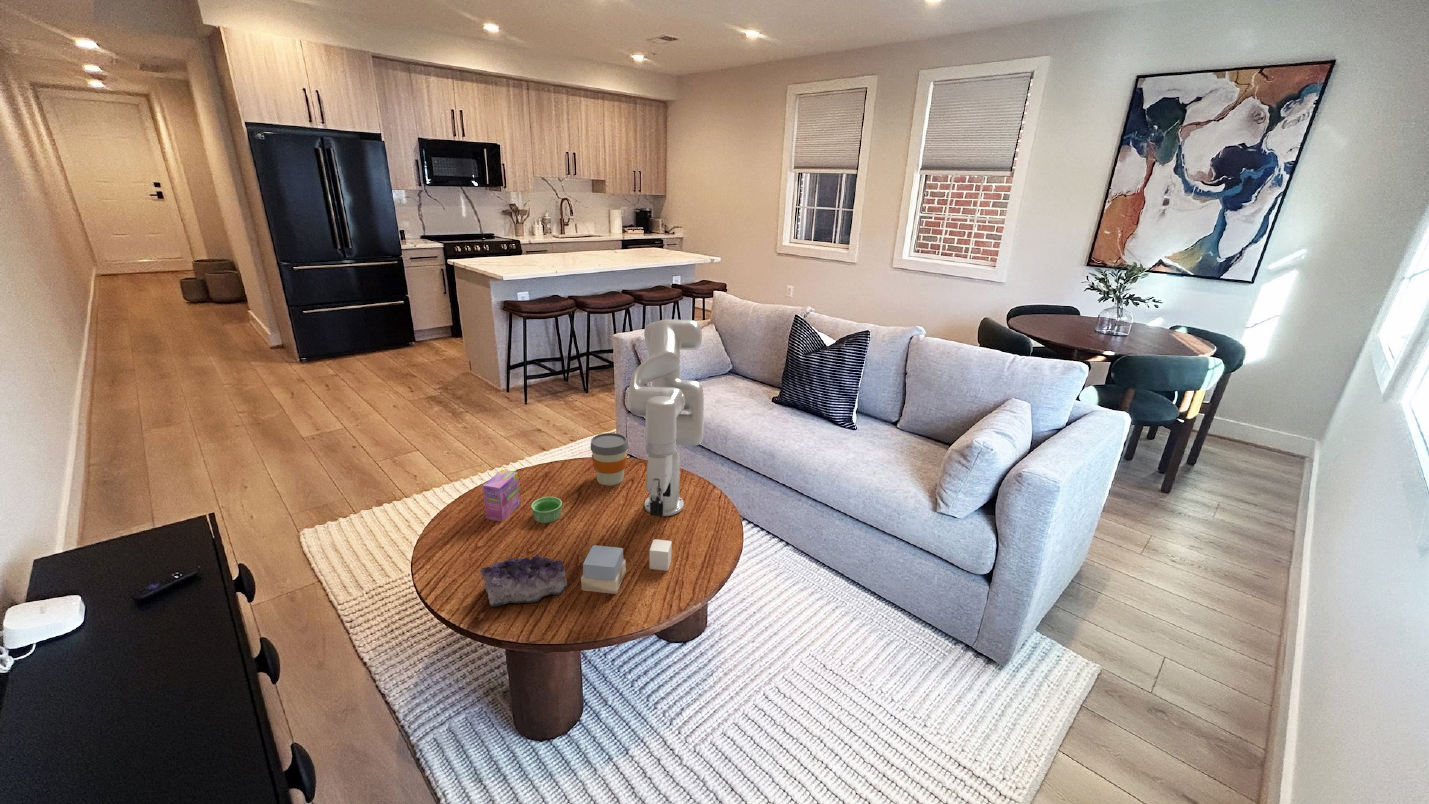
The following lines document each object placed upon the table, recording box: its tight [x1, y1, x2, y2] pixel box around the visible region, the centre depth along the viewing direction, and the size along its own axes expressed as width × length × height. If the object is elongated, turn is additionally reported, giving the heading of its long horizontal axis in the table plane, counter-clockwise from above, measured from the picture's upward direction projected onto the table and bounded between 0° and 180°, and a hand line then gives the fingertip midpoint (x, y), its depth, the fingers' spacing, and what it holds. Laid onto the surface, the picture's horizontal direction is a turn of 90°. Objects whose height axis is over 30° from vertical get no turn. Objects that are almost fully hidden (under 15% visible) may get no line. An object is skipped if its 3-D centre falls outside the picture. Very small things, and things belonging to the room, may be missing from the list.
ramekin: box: [530, 496, 563, 524], centre depth 169 cm, size 9×9×4 cm
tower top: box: [582, 544, 624, 581], centre depth 141 cm, size 8×8×4 cm
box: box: [482, 469, 521, 522], centre depth 169 cm, size 10×6×12 cm, turn 168°
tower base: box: [580, 558, 627, 595], centre depth 142 cm, size 9×9×4 cm
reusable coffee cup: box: [590, 432, 629, 486], centre depth 190 cm, size 13×12×15 cm
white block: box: [649, 538, 673, 572], centre depth 149 cm, size 5×5×6 cm
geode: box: [480, 553, 568, 607], centre depth 137 cm, size 20×12×10 cm, turn 106°
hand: (660, 505), depth 143 cm, fingers open, 9 cm apart
